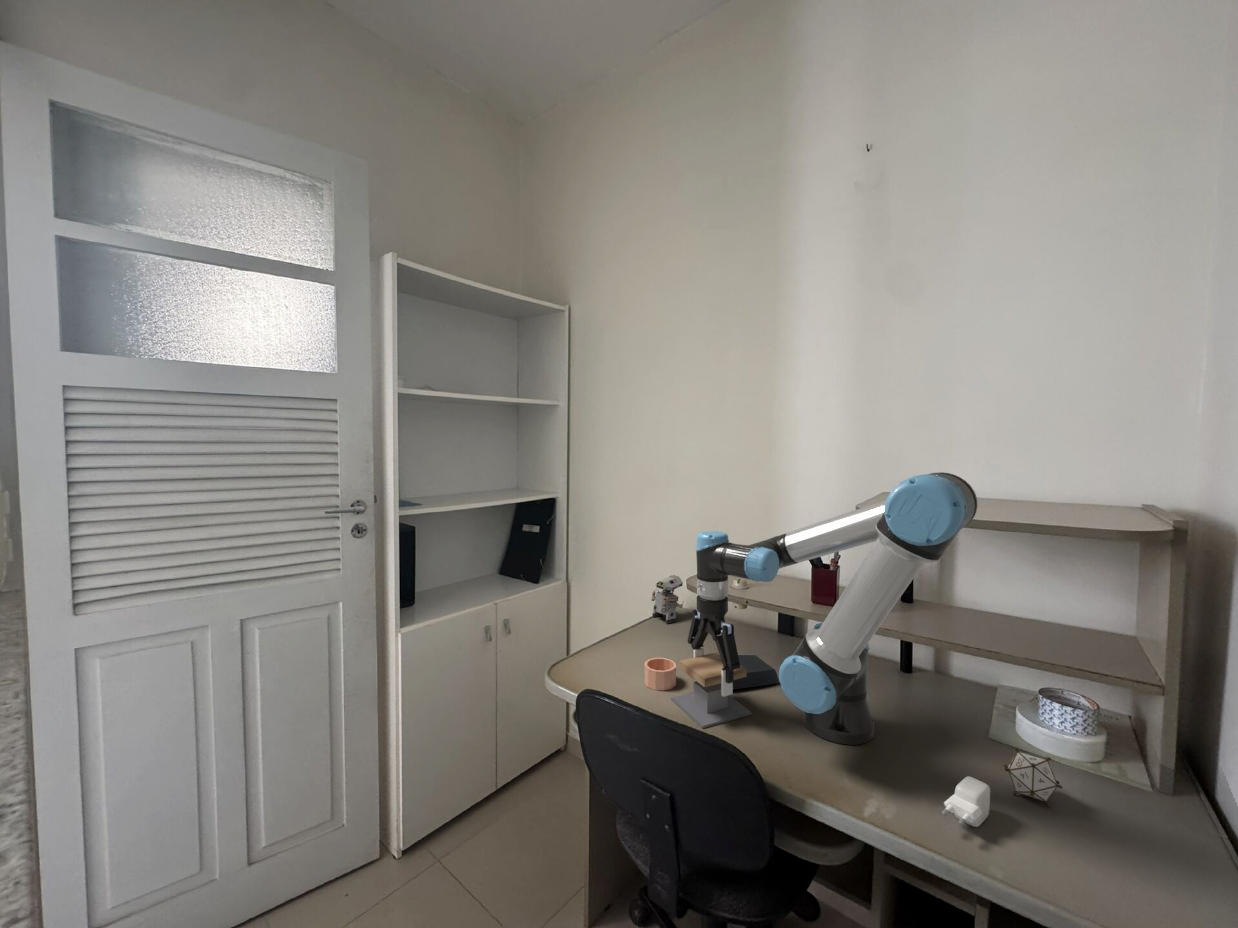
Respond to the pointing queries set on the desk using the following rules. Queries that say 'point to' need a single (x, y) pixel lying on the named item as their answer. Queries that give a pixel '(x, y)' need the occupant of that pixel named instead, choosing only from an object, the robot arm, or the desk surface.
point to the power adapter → (969, 802)
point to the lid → (708, 669)
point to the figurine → (667, 598)
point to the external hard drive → (755, 672)
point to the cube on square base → (710, 705)
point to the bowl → (660, 674)
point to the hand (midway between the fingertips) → (712, 684)
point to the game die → (1032, 776)
